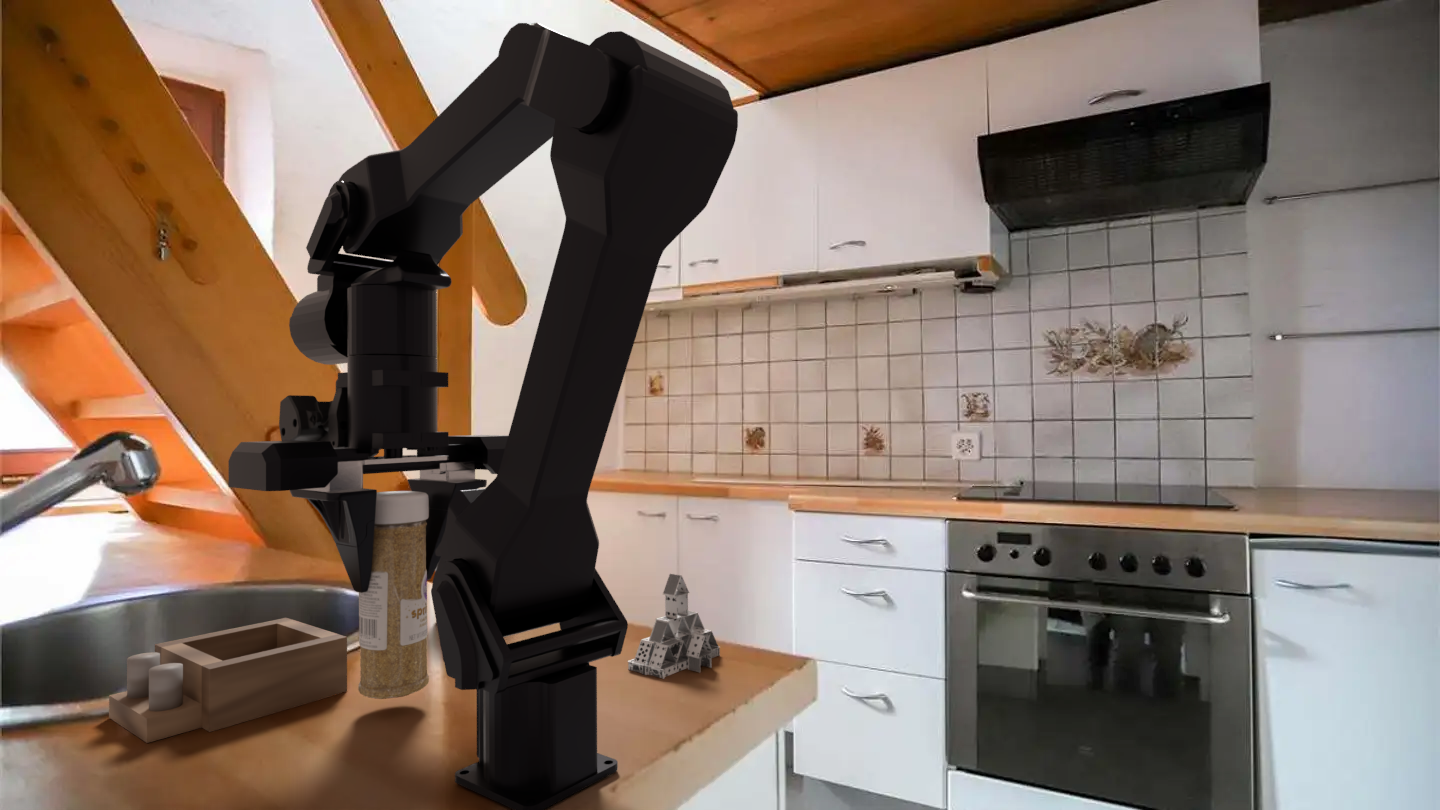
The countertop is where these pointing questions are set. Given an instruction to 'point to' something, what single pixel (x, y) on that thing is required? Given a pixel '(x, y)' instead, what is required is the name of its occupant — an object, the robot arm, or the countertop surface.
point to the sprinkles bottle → (395, 599)
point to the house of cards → (675, 637)
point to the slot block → (229, 678)
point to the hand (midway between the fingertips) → (393, 585)
